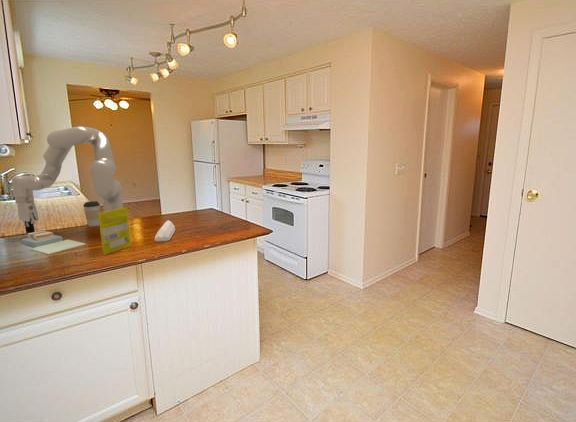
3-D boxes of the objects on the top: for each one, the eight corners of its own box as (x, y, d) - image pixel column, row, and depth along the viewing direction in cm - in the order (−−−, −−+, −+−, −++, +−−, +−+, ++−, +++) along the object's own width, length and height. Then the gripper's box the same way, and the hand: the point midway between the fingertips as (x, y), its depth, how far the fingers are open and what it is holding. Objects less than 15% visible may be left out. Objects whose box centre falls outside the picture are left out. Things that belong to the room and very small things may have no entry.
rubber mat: (86, 244, 157) (86, 243, 157) (48, 254, 142) (48, 253, 142) (68, 240, 164) (68, 239, 164) (30, 249, 149) (30, 248, 149)
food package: (130, 245, 155) (126, 206, 151) (131, 245, 155) (127, 207, 151) (102, 255, 141) (97, 212, 137) (104, 255, 141) (98, 213, 137)
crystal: (172, 235, 161) (178, 223, 184) (158, 229, 159) (167, 218, 182) (165, 247, 161) (173, 234, 184) (152, 241, 159) (161, 229, 182)
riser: (63, 241, 162) (62, 236, 161) (36, 247, 151) (35, 243, 151) (48, 237, 168) (48, 233, 167) (22, 243, 158) (21, 239, 157)
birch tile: (54, 237, 160) (53, 232, 160) (38, 240, 154) (37, 236, 154) (43, 234, 165) (43, 230, 164) (28, 238, 159) (27, 233, 158)
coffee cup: (85, 227, 190) (82, 203, 187) (85, 224, 198) (82, 201, 195) (102, 225, 195) (99, 202, 192) (102, 222, 203) (99, 199, 199)
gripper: (40, 199, 160) (46, 233, 164) (26, 197, 167) (31, 230, 171) (23, 201, 154) (29, 237, 157) (8, 199, 160) (15, 233, 164)
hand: (30, 233), depth 164 cm, fingers closed
